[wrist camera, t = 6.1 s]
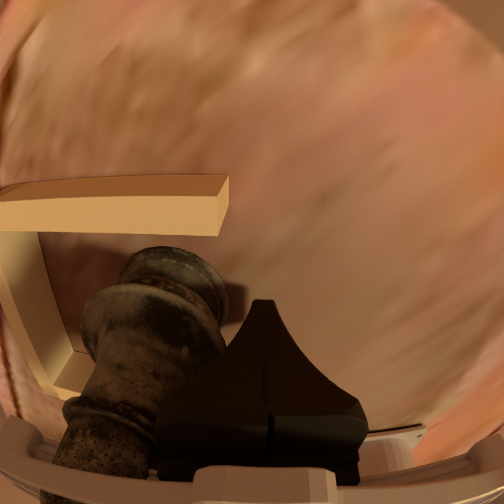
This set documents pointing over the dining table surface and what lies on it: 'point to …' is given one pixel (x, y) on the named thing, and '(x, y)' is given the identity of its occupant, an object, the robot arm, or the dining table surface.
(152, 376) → the dark bronze turned piece
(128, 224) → the holder
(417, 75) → the dining table surface
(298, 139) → the dining table surface
